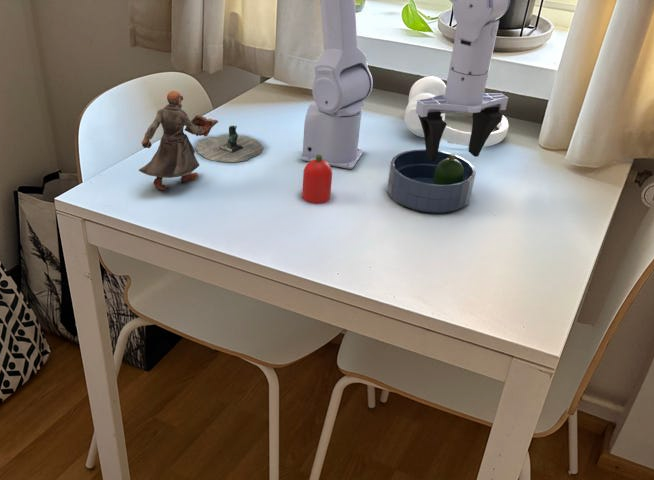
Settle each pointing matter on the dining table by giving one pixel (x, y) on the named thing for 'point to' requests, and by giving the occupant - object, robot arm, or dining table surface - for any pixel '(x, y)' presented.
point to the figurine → (174, 142)
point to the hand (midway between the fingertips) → (452, 156)
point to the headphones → (443, 114)
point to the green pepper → (448, 171)
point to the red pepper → (317, 181)
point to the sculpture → (229, 147)
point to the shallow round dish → (427, 183)
